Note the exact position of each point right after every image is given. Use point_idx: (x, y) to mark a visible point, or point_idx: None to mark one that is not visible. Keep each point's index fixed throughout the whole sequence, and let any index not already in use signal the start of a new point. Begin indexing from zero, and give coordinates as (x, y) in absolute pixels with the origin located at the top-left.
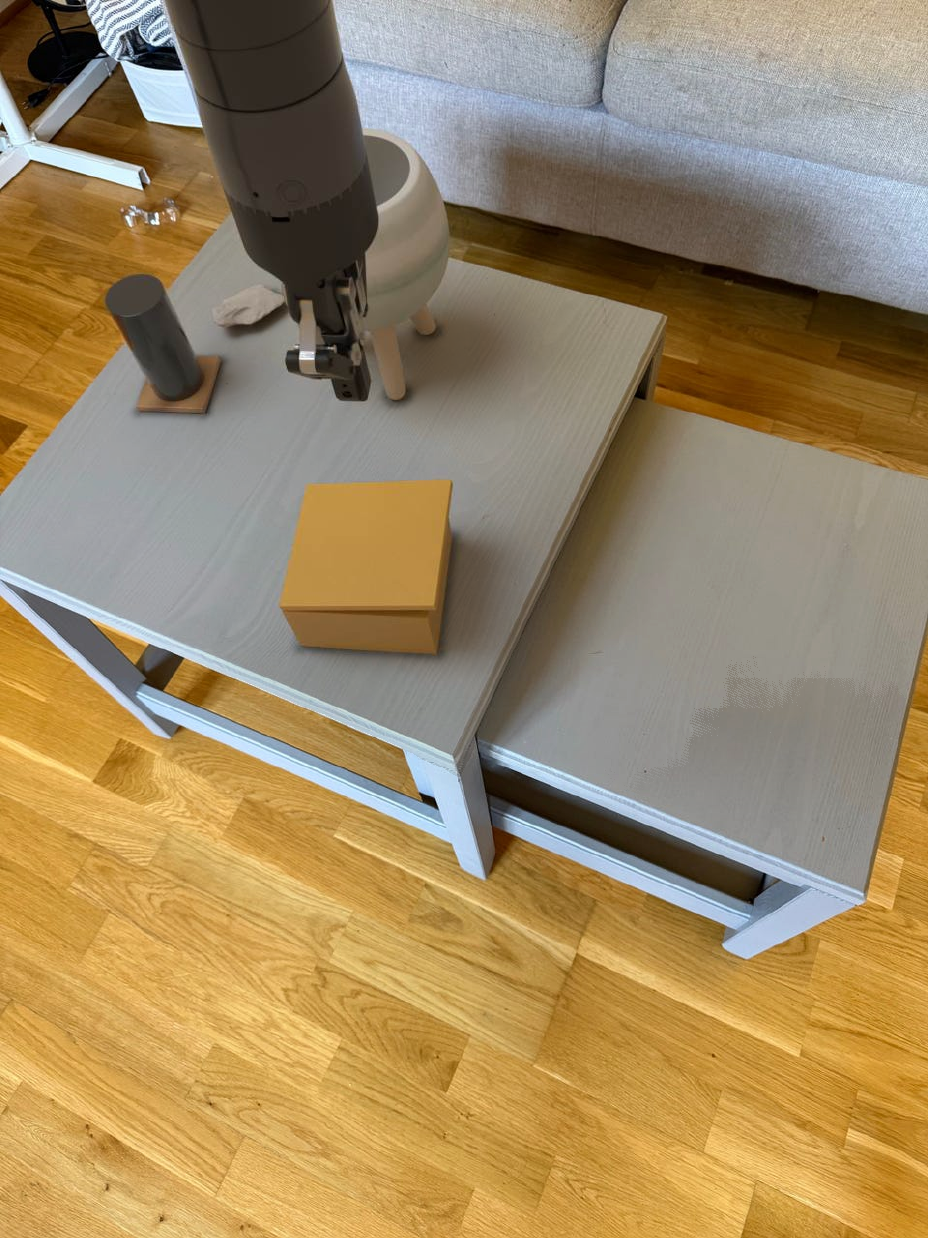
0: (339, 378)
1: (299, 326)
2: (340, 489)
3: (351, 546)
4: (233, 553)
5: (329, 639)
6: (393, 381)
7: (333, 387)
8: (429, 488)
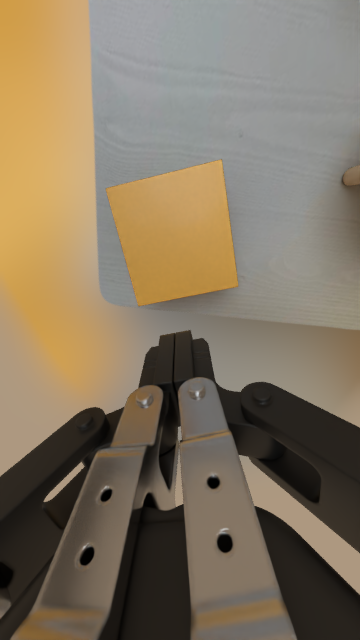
0: (65, 486)
1: (76, 507)
2: (219, 197)
3: (169, 229)
4: (176, 89)
5: None
6: (357, 177)
7: (158, 346)
8: (228, 273)
